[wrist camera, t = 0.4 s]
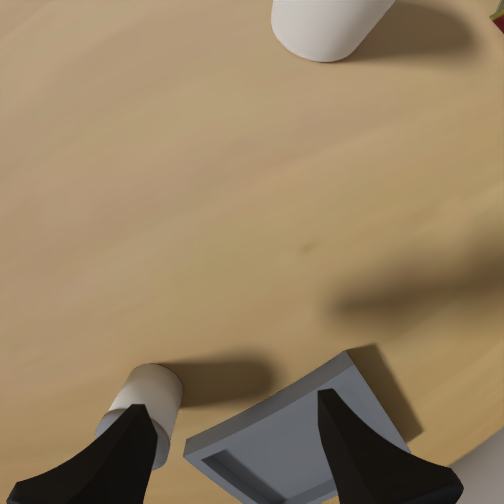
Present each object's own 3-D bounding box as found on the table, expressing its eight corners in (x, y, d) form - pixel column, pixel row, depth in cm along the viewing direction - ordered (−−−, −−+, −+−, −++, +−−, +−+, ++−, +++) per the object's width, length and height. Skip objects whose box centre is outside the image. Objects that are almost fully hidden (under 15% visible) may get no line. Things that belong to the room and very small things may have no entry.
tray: (271, 506, 25) (272, 522, 23) (186, 439, 24) (182, 456, 21) (402, 438, 24) (411, 452, 22) (345, 350, 22) (354, 364, 20)
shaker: (154, 418, 23) (132, 477, 16) (116, 378, 22) (81, 431, 16) (196, 396, 23) (183, 458, 16) (157, 352, 22) (128, 407, 15)
